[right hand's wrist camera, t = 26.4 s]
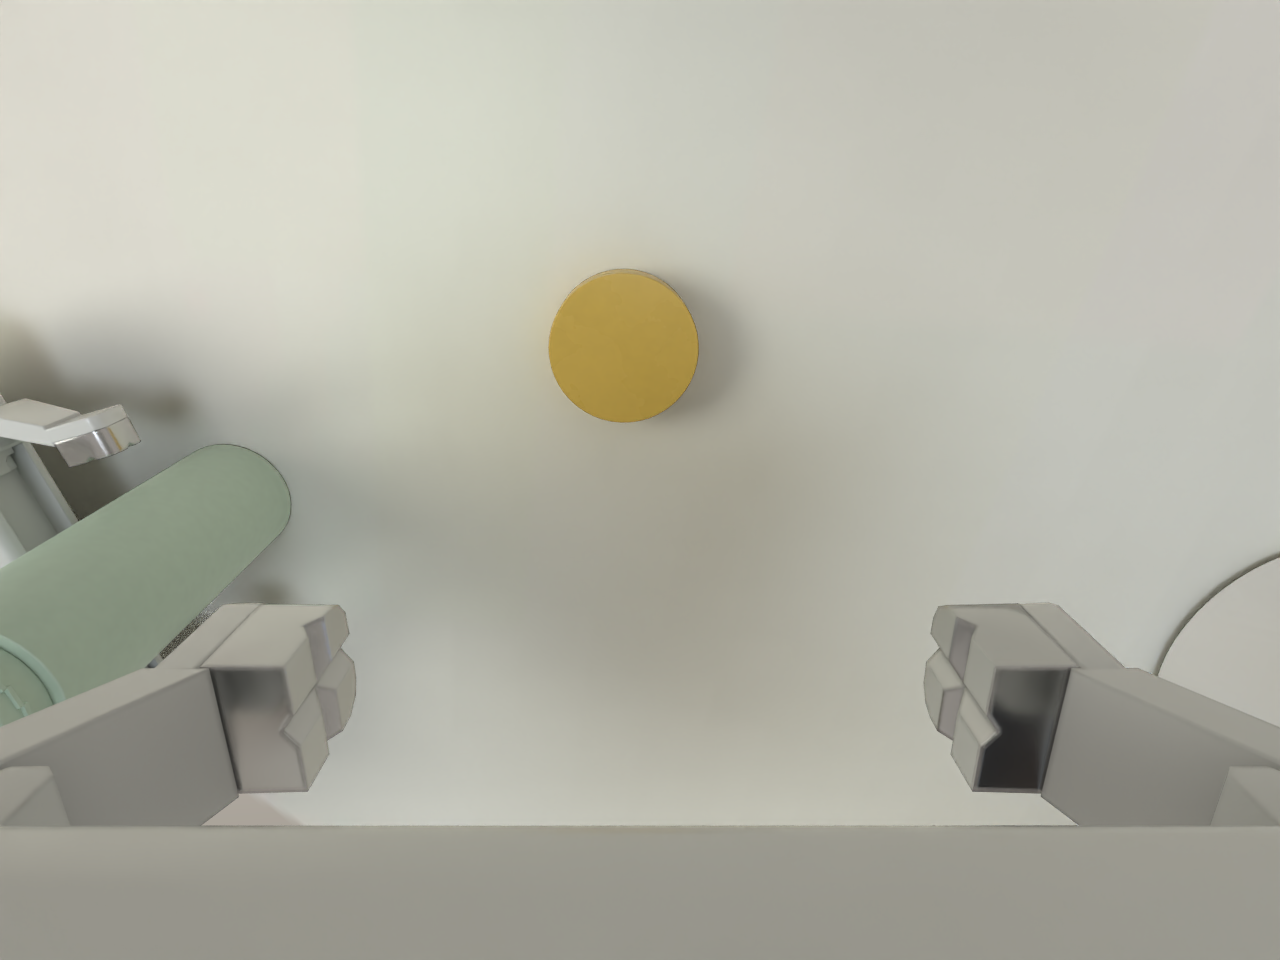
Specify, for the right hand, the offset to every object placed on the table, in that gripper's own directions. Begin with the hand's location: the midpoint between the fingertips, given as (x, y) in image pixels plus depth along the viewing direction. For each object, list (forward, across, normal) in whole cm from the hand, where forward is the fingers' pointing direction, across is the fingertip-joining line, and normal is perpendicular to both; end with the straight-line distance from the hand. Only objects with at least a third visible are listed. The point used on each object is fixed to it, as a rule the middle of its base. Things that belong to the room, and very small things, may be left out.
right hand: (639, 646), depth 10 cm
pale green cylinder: (+21, +18, +6) cm, 28 cm away
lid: (+20, +1, -1) cm, 20 cm away
